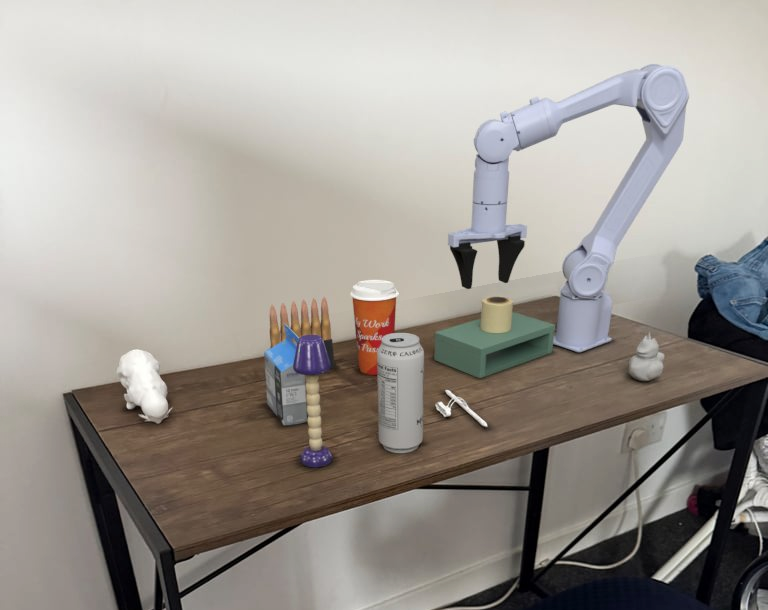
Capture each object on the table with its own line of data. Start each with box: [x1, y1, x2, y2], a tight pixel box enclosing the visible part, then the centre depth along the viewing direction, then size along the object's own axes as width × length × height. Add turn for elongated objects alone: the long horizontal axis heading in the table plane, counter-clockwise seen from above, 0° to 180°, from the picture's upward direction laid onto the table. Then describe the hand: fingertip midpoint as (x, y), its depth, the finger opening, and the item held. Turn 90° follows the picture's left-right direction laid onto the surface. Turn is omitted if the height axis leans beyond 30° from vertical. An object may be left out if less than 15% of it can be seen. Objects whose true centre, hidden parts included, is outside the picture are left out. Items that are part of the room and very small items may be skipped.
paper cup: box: [349, 279, 400, 376], centre depth 123 cm, size 8×8×14 cm
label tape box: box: [263, 323, 308, 426], centre depth 110 cm, size 9×4×12 cm, turn 23°
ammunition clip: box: [269, 296, 336, 370], centre depth 123 cm, size 11×2×12 cm, turn 116°
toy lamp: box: [293, 335, 333, 468], centre depth 96 cm, size 5×5×17 cm
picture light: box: [434, 389, 488, 428], centre depth 112 cm, size 14×4×2 cm, turn 21°
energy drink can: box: [376, 332, 425, 454], centre depth 99 cm, size 6×6×15 cm
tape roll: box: [480, 295, 514, 333], centre depth 127 cm, size 5×5×5 cm
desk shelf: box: [433, 311, 556, 379], centre depth 130 cm, size 18×11×5 cm, turn 129°
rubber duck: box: [628, 331, 666, 382], centre depth 120 cm, size 5×7×8 cm
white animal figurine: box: [116, 348, 173, 425], centre depth 111 cm, size 6×8×12 cm
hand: (485, 284), depth 132 cm, fingers open, 7 cm apart
